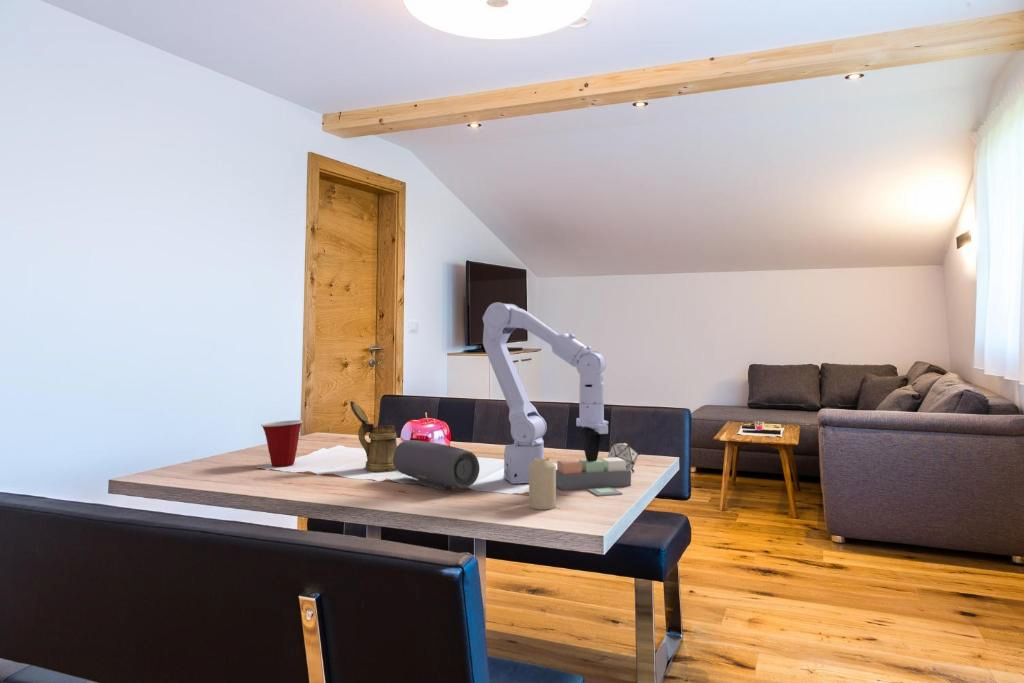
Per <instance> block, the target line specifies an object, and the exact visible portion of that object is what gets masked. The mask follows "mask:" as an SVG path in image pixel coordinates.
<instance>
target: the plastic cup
mask: <svg viewBox="0 0 1024 683" xmlns="http://www.w3.org/2000/svg"><path fill="white" fill-rule="evenodd" d="M303 422H304V420H301V419H299V420H297V419H295V420H284V421H283V420H282V421H274V422H266V423H262V424H260V426H261V427H262V429H263V431H264V434H265V439H266V443H267V449H268V454H269V459H270V463H271V466H272V467H276V468H277V467H278V468H282V467H283V468H284V467H290V466H294V464H295V461H296V454H297V451H298V446H299V445H298V444H299V437H300V433H301V427H302V423H303Z"/></svg>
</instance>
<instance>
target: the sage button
mask: <svg viewBox="0 0 1024 683" xmlns="http://www.w3.org/2000/svg"><path fill="white" fill-rule="evenodd" d="M578 462H580V463H582V471H583V472H585V473H594V472H604V462H603V461H601V459H598V458H597V461H588V460H587V459H586V458H584V459H583V458H581V459H579V461H578Z"/></svg>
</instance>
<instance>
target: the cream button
mask: <svg viewBox="0 0 1024 683" xmlns="http://www.w3.org/2000/svg"><path fill="white" fill-rule="evenodd" d="M600 460H601V461H603V462H604V470H606V471H608V472H610V471H626V460H623V459H621V458H618V457H613V458H607V457H602V458H600Z"/></svg>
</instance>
